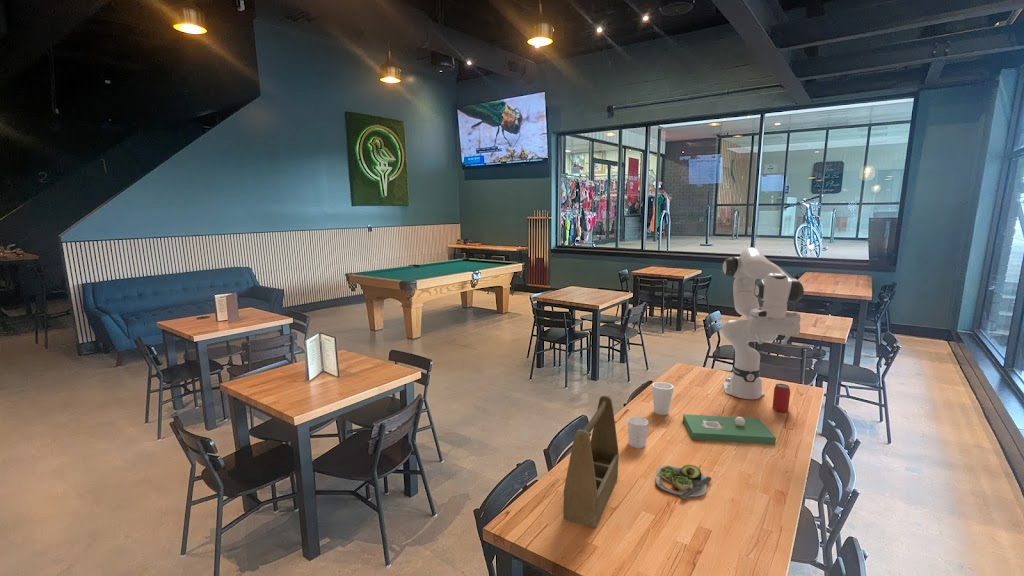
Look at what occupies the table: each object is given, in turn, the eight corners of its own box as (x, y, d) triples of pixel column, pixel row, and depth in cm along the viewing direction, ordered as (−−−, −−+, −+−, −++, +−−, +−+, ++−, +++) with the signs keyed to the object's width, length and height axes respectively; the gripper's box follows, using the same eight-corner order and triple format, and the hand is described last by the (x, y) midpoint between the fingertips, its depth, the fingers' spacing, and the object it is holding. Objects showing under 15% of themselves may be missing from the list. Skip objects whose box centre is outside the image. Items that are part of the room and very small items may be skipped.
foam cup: (669, 408, 225) (670, 382, 223) (674, 416, 216) (675, 389, 214) (649, 407, 226) (650, 381, 224) (652, 415, 217) (654, 388, 214)
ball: (733, 423, 202) (733, 414, 201) (742, 424, 201) (743, 415, 201) (736, 427, 198) (736, 418, 197) (746, 428, 197) (747, 419, 197)
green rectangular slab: (682, 420, 212) (683, 414, 211) (758, 424, 207) (759, 418, 207) (692, 439, 194) (692, 432, 194) (775, 444, 190) (776, 437, 189)
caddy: (596, 529, 139) (599, 434, 135) (562, 519, 144) (563, 427, 139) (618, 479, 166) (621, 397, 161) (588, 472, 170) (590, 392, 165)
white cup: (624, 446, 189) (625, 422, 187) (629, 437, 196) (630, 415, 194) (644, 450, 185) (645, 426, 183) (649, 442, 192) (650, 419, 190)
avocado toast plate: (709, 509, 149) (710, 496, 148) (651, 495, 157) (651, 482, 156) (711, 478, 167) (712, 466, 166) (658, 467, 174) (659, 455, 173)
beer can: (787, 414, 218) (789, 389, 216) (771, 410, 222) (773, 386, 220) (789, 409, 224) (791, 385, 222) (773, 405, 227) (775, 382, 226)
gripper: (797, 311, 200) (794, 343, 202) (746, 310, 203) (744, 341, 205) (804, 314, 194) (801, 346, 196) (751, 312, 197) (749, 345, 199)
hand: (771, 344), depth 201 cm, fingers open, 8 cm apart
